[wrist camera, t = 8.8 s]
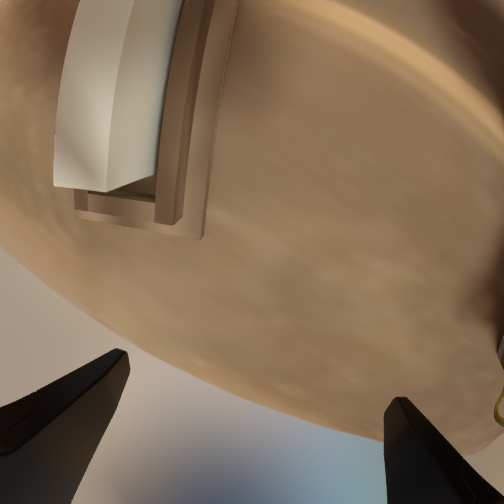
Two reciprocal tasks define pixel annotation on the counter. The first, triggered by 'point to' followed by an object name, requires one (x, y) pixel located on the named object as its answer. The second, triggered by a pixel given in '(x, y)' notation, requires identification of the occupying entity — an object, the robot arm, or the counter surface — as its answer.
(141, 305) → the counter surface
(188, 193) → the rack
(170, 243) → the counter surface
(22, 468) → the robot arm
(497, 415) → the ceramic cup
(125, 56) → the white rectangular block
